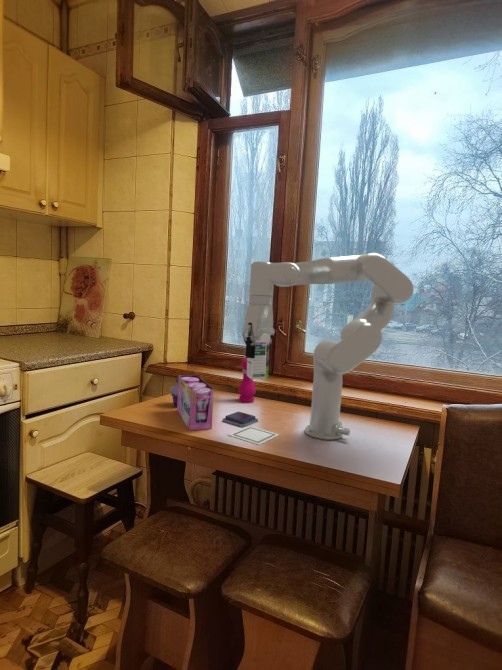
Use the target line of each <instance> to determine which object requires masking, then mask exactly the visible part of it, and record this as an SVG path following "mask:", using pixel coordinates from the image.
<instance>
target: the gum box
mask: <svg viewBox="0 0 502 670" xmlns="http://www.w3.org/2000/svg"><path fill="white" fill-rule="evenodd" d="M178 375H179V377H178V376H177V378H178V383H177V386H178V402H177V407H176V410H177V412H178V415H179V416H180V418H181V419H182V421H183V423H184V424H185V426H186V427H187V428H188V430H189V431H196V430H198V431H199V430H212V427H213V426H212V425H213V407H214V388H213V387H212V386H211V385H210V384H208V383H207V382H206V381H205V379H203V378H202V377H201V376H200V375H198V374H195V375H194V374H193V375H192V374H191V375H189V374H188V375H186V374H185V375H184V374H178Z"/></svg>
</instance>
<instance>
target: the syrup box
mask: <svg viewBox="0 0 502 670" xmlns="http://www.w3.org/2000/svg"><path fill="white" fill-rule="evenodd" d="M251 335H254V334H251ZM250 339H251V341H252V338H250ZM269 339H270V335H269V334H268V333H265V334H262V336H261V337H259V338H256V341H255V343H254V346H255V358H247V357H246V358H247V376H248V377H249V378H250V379H253V380H268V379H269V368H270V367H269V366H270V365H269V362H270V356H269Z"/></svg>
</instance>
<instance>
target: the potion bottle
mask: <svg viewBox="0 0 502 670" xmlns="http://www.w3.org/2000/svg"><path fill="white" fill-rule="evenodd" d="M179 375H180V374H178V375H177V377H176V378H175V383H177V384H178V377H179ZM170 394H171V397H172V402H173V407H176V408H177V402H178V385H175V386H171V387H170Z"/></svg>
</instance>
